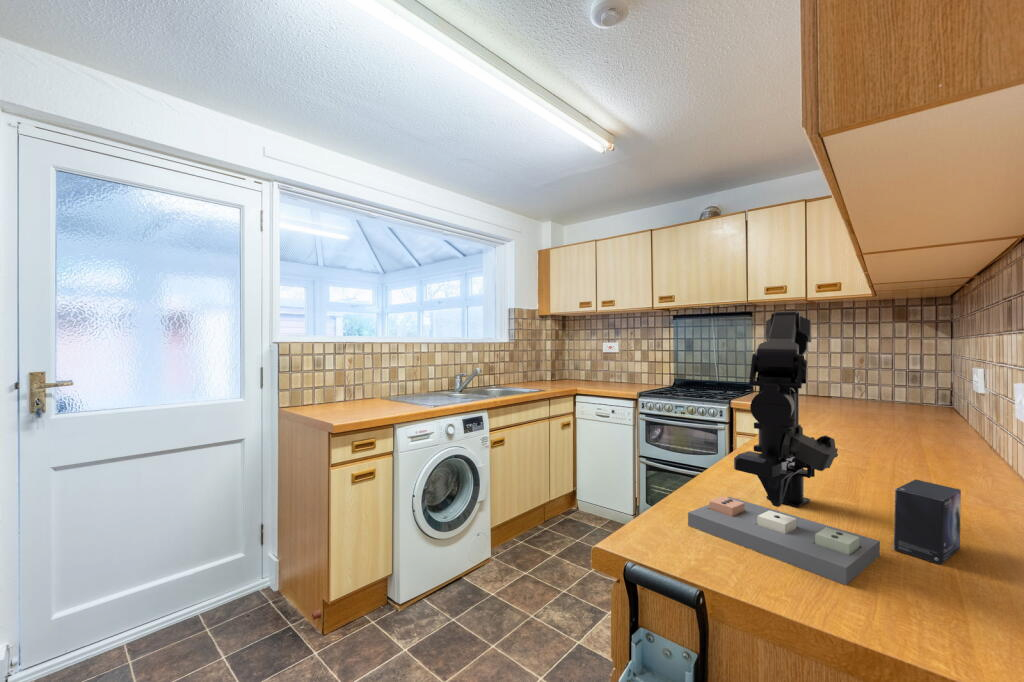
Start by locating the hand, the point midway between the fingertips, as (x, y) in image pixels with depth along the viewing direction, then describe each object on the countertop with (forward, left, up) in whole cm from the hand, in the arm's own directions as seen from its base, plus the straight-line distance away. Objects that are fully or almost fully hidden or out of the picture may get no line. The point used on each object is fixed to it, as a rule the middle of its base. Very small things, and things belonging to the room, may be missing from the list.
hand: (776, 506), depth 77 cm
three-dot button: (0, -9, -4) cm, 10 cm away
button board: (0, 0, -6) cm, 6 cm away
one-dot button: (0, 0, -4) cm, 4 cm away
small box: (-17, +17, -6) cm, 24 cm away
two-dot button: (0, +9, -4) cm, 10 cm away
